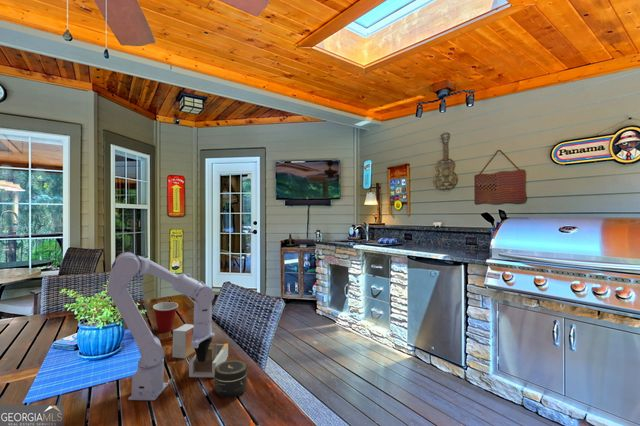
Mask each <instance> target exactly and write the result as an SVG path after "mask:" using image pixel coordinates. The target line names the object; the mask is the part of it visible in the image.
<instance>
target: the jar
mask: <svg viewBox="0 0 640 426" xmlns="http://www.w3.org/2000/svg"><path fill="white" fill-rule="evenodd" d="M247 374H248V366H247V364H246V363H245V362H244V361H241V360H236V359H235V360H234V359H233V360H231V359H230V360H226V361H225V362H222V363H220V364H219V365H217V366H216V368H215V374H214V377H213V378H214V392H215V394H216V395H217V396H218V397H219V398H223V399H233V398H235V397H240V396H241V395H242V394H243V393H244V392H245V390H246V387H247V383H248V382H247V381H248V380H247V378H248V376H247Z"/></svg>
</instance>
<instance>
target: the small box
mask: <svg viewBox="0 0 640 426" xmlns="http://www.w3.org/2000/svg"><path fill="white" fill-rule="evenodd" d="M193 328H194V324H190V323H184V324H183V325H181V326H179V327H178V328H175V329H172V354H171V355H172V358H175V359H176V358H177V359H187V358H188V357H189V356H191V355H192V354H194V353H196V351H195V349H194V348H191V342H192V340H193Z"/></svg>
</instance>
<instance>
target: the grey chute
mask: <svg viewBox="0 0 640 426" xmlns="http://www.w3.org/2000/svg"><path fill="white" fill-rule="evenodd" d="M227 357H228V358H229V343H217V354H216V358H215V359H214V361H213V362H212V372H199V371H196V354H195V355H194V356H193V357H192V358H191V359H190V361H189V362H188V378H215V377H214V374H215V368H216V366H217V365H219V364H220V363H222V362H225V361H227V359H228V358H227Z"/></svg>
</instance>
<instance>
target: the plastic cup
mask: <svg viewBox="0 0 640 426" xmlns="http://www.w3.org/2000/svg"><path fill="white" fill-rule="evenodd" d="M178 307H179V303H177V302H174V301H173V302H172V301H165V302H164V301H163V302H158V303H155V304H153V306H152V309H153V311H154V314H155V321H156V326H157V330H158V332H159V333H169V332H171V331H173V325H174V321H175V318H176V311H177V309H178Z"/></svg>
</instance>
